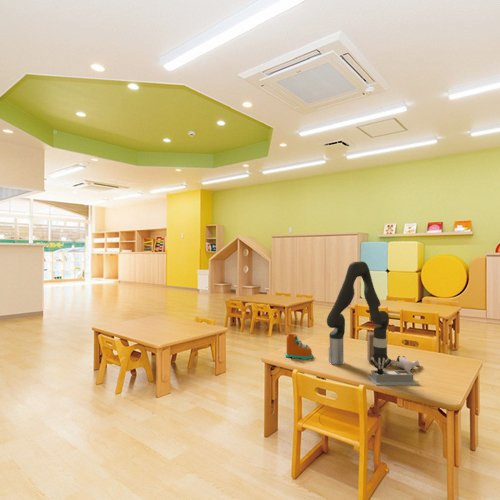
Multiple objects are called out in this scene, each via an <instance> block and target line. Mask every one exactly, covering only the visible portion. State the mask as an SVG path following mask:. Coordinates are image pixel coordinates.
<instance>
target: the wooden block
mask: <svg viewBox="0 0 500 500" xmlns="http://www.w3.org/2000/svg"><path fill="white" fill-rule="evenodd" d="M366 336H367V340H366V341H367V346H366V347H367V350H366V351H367V361H368V363H369V364H370V365H373V364H372V363H371V362H370V360H369V359H371V358H372V357H373V340H374V331H367V335H366ZM385 362H386V361H385ZM385 362H384V363H385ZM374 363H375V364H376V361H375V360H374ZM376 365H377V364H376Z"/></svg>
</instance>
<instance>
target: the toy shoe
mask: <svg viewBox="0 0 500 500" xmlns="http://www.w3.org/2000/svg"><path fill="white" fill-rule="evenodd" d="M312 351H313V350H312V348H311V347H310V346H308V344H307V343H304V344H303V342H302V340H299V338H298V335H297V334H296V333H288V334H287V336H286V353H285V357H286V356H287V357H286V358H289V357H292V358H291V359H297V358H301V359H300V360H310V359H312V358H313V357H314V354H313V352H312Z"/></svg>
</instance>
